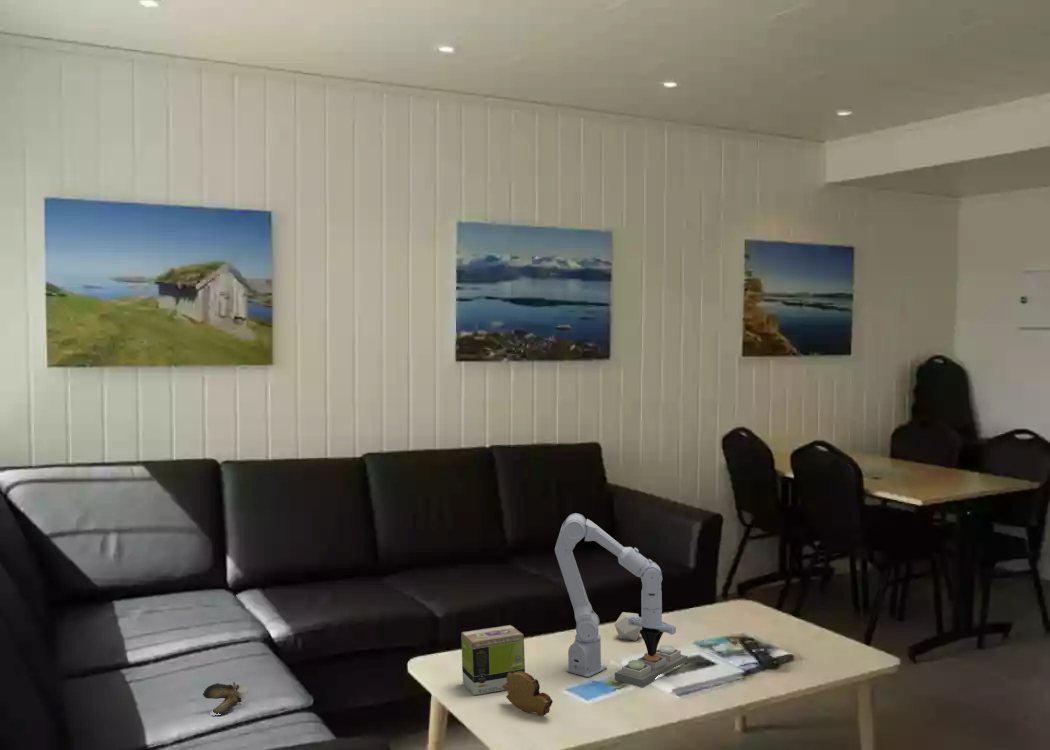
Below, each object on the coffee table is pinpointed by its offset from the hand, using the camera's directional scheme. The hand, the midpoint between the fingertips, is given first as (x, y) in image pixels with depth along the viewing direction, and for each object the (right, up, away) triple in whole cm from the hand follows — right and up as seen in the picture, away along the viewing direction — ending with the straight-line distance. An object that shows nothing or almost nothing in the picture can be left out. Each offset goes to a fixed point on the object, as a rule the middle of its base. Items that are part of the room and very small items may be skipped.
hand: (651, 654), depth 262 cm
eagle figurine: (-113, -7, -23) cm, 115 cm away
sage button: (-5, -2, -6) cm, 8 cm away
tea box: (-45, -6, -9) cm, 46 cm away
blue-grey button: (+5, -2, +6) cm, 8 cm away
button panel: (0, -5, 0) cm, 5 cm away
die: (-3, -4, +29) cm, 29 cm away
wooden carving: (-35, -7, -27) cm, 45 cm away
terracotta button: (0, -2, 0) cm, 2 cm away
